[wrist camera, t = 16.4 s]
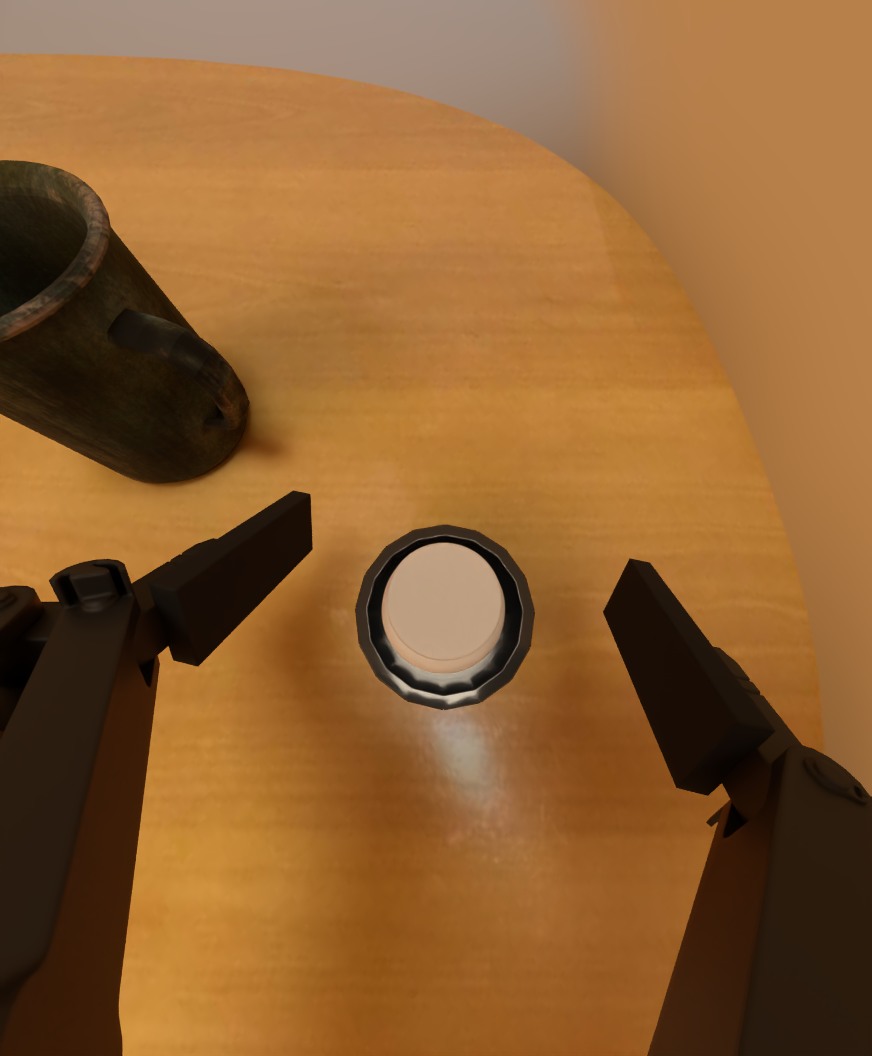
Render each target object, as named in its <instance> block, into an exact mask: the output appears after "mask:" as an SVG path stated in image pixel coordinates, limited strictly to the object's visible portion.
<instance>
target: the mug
mask: <svg viewBox="0 0 872 1056" xmlns="http://www.w3.org/2000/svg"><path fill="white" fill-rule="evenodd" d="M249 403H250V402H249V400H248V397H247V394H246V391H245V389H244V387H243V385H242V383H241V382H240V380H239V379H238V377H237V375H236V374H235V372H234V370H233V369H232V367H231V366H230V365H229V364H228V363H227V361H226V360H225V359H224V358H223V357H222V356H221V355H220V354H219V353H218V352H217V350H216V349H215V348H214V347H212V346H211V345H210V344H208V343H207V342H206V341H204V340H203V339H202V338H200V337H199V336H198V334H197V333H196V332H195V331H194V330H193V328H192V327H191V326H190V325H189V323H188V322H187V321H186V320H185V318H184V317H183V316H182V315H181V313H180V312H179V311H178V310H177V309H176V307H175V306H174V305H173V304H172V302H171V301H170V300H169V299H168V297H167V296H166V295H165V294H164V292H163V291H162V290H161V289H160V288H159V286H158V285H157V284H156V283H155V281H154V280H153V279H152V278H151V276H150V275H149V274H148V273H147V272H146V270H145V269H144V268H143V267H142V265H141V264H140V263H139V262H138V260H137V259H136V258H135V257H134V255H133V254H132V253H131V252H130V251H129V249H128V248H127V247H126V246H125V244H124V243H123V242H122V241H121V239H120V238H119V237H118V236H117V234H116V233H115V232H114V231H113V229H112V228H111V226H110V221H109V216H108V213H107V211H106V209H105V207H104V205H103V203H102V201H101V199H100V197H99V196H98V195H97V194H96V193H95V192H94V191H93V189H92V188H91V187H89V186H88V185H87V184H86V183H85V182H83V181H82V180H81V179H79V178H78V177H76V176H75V175H73V174H71V173H69V172H66V171H64V170H62V169H59V168H55V167H52V166H48V165H45V164H40V163H33V162H26V161H9V160H2V161H0V414H2V415H4V416H6V417H8V418H10V419H12V420H14V421H16V422H18V423H20V424H22V425H24V426H26V427H28V428H30V429H32V430H34V431H36V432H38V433H40V434H42V435H44V436H46V437H48V438H50V439H52V440H54V441H56V442H58V443H60V444H62V445H64V446H66V447H68V448H70V449H72V450H74V451H76V452H78V453H80V454H82V455H84V456H86V457H88V458H90V459H92V460H94V461H96V462H98V463H100V464H102V465H104V466H106V467H108V468H110V469H112V470H114V471H116V472H118V473H120V474H122V475H124V476H126V477H128V478H131V479H133V480H137V481H141V482H145V483H170V482H177V481H182V480H187V479H190V478H193V477H196V476H198V475H201V474H203V473H205V472H207V471H209V470H210V469H212V468H213V467H215V466H216V465H218V464H219V463H220V462H221V461H223V460H224V459H225V458H226V457H227V456H228V455H229V454H230V453H231V451H232V450H233V449H234V448H235V446H236V445H237V443H238V442H239V440H240V438H241V435H242V433H243V430H244V427H245V422H246V414H247V411H248V408H249Z"/></svg>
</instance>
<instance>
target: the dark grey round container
mask: <svg viewBox="0 0 872 1056" xmlns="http://www.w3.org/2000/svg"><path fill="white" fill-rule="evenodd" d="M435 543H453V544H458V545H462V546H464V547H467V548H469V549H471V550H473V551H474V552H476V553H477V554H479V555H480V556H481V557H482V558H483V559H484V560H485V561H486V562H487V563H488V564H489V565H490V567H491V568H492V570H493V571H494V573H495V575H496V577H497V579H498V581H499V583H500V586H501V588H502V591H503V595H504V601H505V617H504V624H503V628H502V632H501V634H500V637H499V639H498V641H497V643H496V644H495V646H494V647H493V649H492V650H491V651H490V653H489V654H488V655H487V656H486V657H485V658H484V659H483V660H481V661H480V662H479V663H477V664H476V665H474V666H472V667H470V668H468V669H466V670H463V671H460V672H456V673H447V674H440V673H433V672H428V671H425V670H422V669H419V668H417V667H415V666H413V665H412V664H410V663H408V662H407V661H406V660H405V659H404V658H402V657H401V656H400V655H399V654H398V653H397V651H396V650H395V649H394V648H393V646H392V644H391V643H390V641H389V639H388V637H387V635H386V632H385V629H384V626H383V621H382V601H383V595H384V591H385V588H386V585H387V583H388V581H389V579H390V577H391V575H392V574H393V572H394V571H395V569H396V568H397V567H398V565H399V564H400V563H401V561H402V560H403V559H404V558H405V557H407V556H408V555H409V554H410V553H412V552H414V551H415V550H417V549H419V548H421V547H424V546H427V545H430V544H435ZM355 613H356V623H357V632H358V642H359V644H360V648H361V650H362V651H363V653H364V655H365V657H366V659H367V661H368V663H369V664H370V666H371V668H372V670H373V672H374V674H375V676H376V677H377V678H378V679H379V680H380V681H381V682H383V683H384V684H385V685H386V686H388V687H389V688H390V689H392V690H393V691H394V692H395V693H397V694H398V695H399V696H400V697H402V698H403V699H404V700H407V701H408V702H411V703H415V704H419V705H424V706H428V707H432V708H436V709H440V710H443V709H444V710H448V709H453V708H458V707H463V706H468V705H473V704H478V703H480V702H483V701H484V700H486V699H487V698H488V697H490V696H491V695H493V694H494V693H495V692H497V691H498V690H499V689H501V688H502V687H503V686H505V685H506V684H508V683H509V682H510V681H511V680H512V679H513V677H514V676H515V674H516V672H517V670H518V669H519V667H520V665H521V663H522V662H523V660H524V658H525V656H526V655H527V653H528V651H529V649H530V647H531V639H532V631H533V623H534V615H535V612H534V606H533V602H532V598H531V595H530V591H529V587H528V583H527V579H526V577H525V575H524V574H523V572H522V571H521V569H520V568H519V567H518V565H517V564H516V563H515V561H514V560H513V558H512V557H511V556H510V554H509V553H508V552H507V550H506V549H504V548H503V547H502V546H500V545H499V544H497V543H495V542H494V541H492V540H491V539H489V538H488V537H486V536H485V535H483V534H481V533H480V532H478V531H476V530H471V529H466V528H461V527H456V526H451V525H439V526H433V527H428V528H422V529H416V530H412V531H411V532H409V533H407V534H406V535H404V536H403V537H401V538H399V539H398V540H396V541H394V542H393V543H391V544H389V545H388V546H386V548H384V550H383V551H382V552H381V553H380V555H379V556H378V557H377V559H376V560H375V561H374V563H373V564H372V565H371V567H370V568H369V569H368V571H367V572H366V575H364V578H363V582H362V586H361V589H360V593H359V596H358V600H357V603H356V609H355Z"/></svg>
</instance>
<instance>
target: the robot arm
mask: <svg viewBox="0 0 872 1056" xmlns="http://www.w3.org/2000/svg"><path fill="white" fill-rule="evenodd" d="M312 549H313V548H312V522H311V497H310V494H307V493H303V492H298V491H292V492H290V493H289V494H287V495H286V496H284V497H282V498H281V499H279V500H278V501H276V502H275V503H273V504H272V505H270V506H268V507H267V508H265V509H264V510H262V511H261V512H259V513H257V514H256V515H254V516H253V517H251V518H250V519H248V520H247V521H245V522H243V523H242V524H240V525H239V526H237V527H236V528H234V529H232V530H231V531H229V532H228V533H226V534H225V535H223V536H221V537H220V538H218V539H214V538H213V539H210V540H207V541H204V542H201V543H199V544H196V545H194V546H193V547H191V548H189V549H188V550H186V551H184V552H183V553H182V555H178V556H176V557H175V558H173V559H171V561H170V562H166V563H165V564H163V565H162V566H160V567H158V568H157V569H155V570H153V571H152V572H150V573H148V574H147V575H145V576H144V577H142V578H140V579H139V580H137V581H135V582H134V583H132V584H131V581H130V578H129V576H128V573H127V570H126V567H125V564H123V563H122V562H120V561H118V560H111V559H101V560H92V561H87V562H82V563H79V564H76V565H73V566H70V567H67V568H65V569H64V570H62V571H60V572H58V573H56V574H55V575H54V576H53V577H52V578H51V579H50V580H49V582H50V584H51V586H52V588H53V590H54V592H55V594H56V596H57V598H58V600H59V602H41V601H40V599H39V597H38V595H37V593H36V592H35V590H34V589H33V588H31V587H28V586H8V587H0V1056H122V1034H121V1027H120V1020H119V992H120V983H121V975H122V967H123V959H124V951H125V943H126V934H127V926H128V918H129V910H130V902H131V894H132V886H133V878H134V869H135V861H136V853H137V845H138V837H139V829H140V821H141V813H142V804H143V796H144V788H145V780H146V772H147V764H148V756H149V747H150V739H151V731H152V723H153V715H154V707H155V699H156V691H157V682H158V674H159V666H160V663H159V659H158V656H157V655H158V654H159V653H161V652H162V651H163V650H164V649H165V648H166V647H167V646H169V649H170V652H171V655H172V658H173V660H174V661H178V662H182V663H186V664H190V665H194V666H199V665H200V664H201V663H202V662H203V661H204V660H205V659H206V658H207V657H208V656H209V655H210V654H211V653H212V652H213V651H214V650H215V649H216V648H217V647H218V646H219V645H220V644H221V643H222V642H223V640H224V639H225V638H226V637H227V636H228V635H229V634H230V633H231V632H232V631H233V630H234V629H235V628H236V627H237V626H238V625H239V624H240V623H241V622H242V621H243V620H244V619H245V618H246V617H247V616H248V615H249V614H250V613H251V612H252V611H253V610H254V609H255V608H256V607H257V606H258V605H259V604H260V603H261V602H262V601H263V600H264V599H265V598H266V596H267V595H268V594H269V593H270V592H271V591H272V590H273V589H274V588H275V587H276V586H277V585H278V584H279V583H280V582H281V581H282V580H283V579H284V578H285V577H286V576H287V575H288V574H289V573H290V572H291V571H292V570H293V569H294V568H295V567H296V566H297V565H298V564H299V563H300V562H301V561H302V560H303V559H304V558H305V557H306V556H307V555H308V554H309V552H310V551H311V550H312ZM603 613H604V616H605V618H606V620H607V623H608V625H609V627H610V630H611V632H612V635H613V637H614V639H615V642H616V644H617V647H618V649H619V651H620V654H621V656H622V659H623V661H624V663H625V666H626V668H627V671H628V673H629V675H630V678H631V680H632V683H633V685H634V687H635V690H636V692H637V695H638V697H639V699H640V702H641V704H642V707H643V709H644V711H645V714H646V716H647V718H648V721H649V723H650V726H651V728H652V730H653V733H654V735H655V738H656V740H657V742H658V745H659V747H660V750H661V752H662V754H663V757H664V759H665V762H666V764H667V766H668V769H669V771H670V774H671V776H672V778H673V781H674V783H675V786H676V788H679V789H683V790H687V791H691V792H695V793H699V794H703V795H707V796H708V795H709V794H710V793H711V792H713V791H714V790H715V789H716V788H717V787H718V786H719V785H720V784H721V783H722V784H723V786H724V788H725V790H726V792H727V793H728V795H729V797H730V800H729V801H728V802H727V803H726V804H725V805H724V806H723V807H721V808H720V809H719V810H718V811H717V812H716V813H715V814H714V815H712V816H711V817H710V818H709V820H708V821H707V822H706V823H707V824H709V825H710V826H711V827H712V826H713V825H714V824H715V823H716V822H718V825H717V828H716V831H715V835H714V838H713V841H712V844H711V848H710V851H709V854H708V858H707V861H706V864H705V867H704V871H703V874H702V877H701V881H700V884H699V887H698V891H697V894H696V897H695V900H694V904H693V907H692V910H691V914H690V917H689V920H688V923H687V927H686V930H685V933H684V937H683V940H682V943H681V947H680V950H679V953H678V956H677V960H676V963H675V966H674V970H673V973H672V976H671V979H670V983H669V986H668V989H667V993H666V996H665V999H664V1003H663V1006H662V1009H661V1012H660V1016H659V1019H658V1022H657V1026H656V1029H655V1032H654V1035H653V1039H652V1042H651V1045H650V1049H649V1052H648V1055H647V1056H872V797H871V796H870V795H869V794H868V793H867V792H866V790H865V789H864V788H863V786H862V785H861V784H860V782H858V781H857V780H856V779H855V778H854V777H853V776H852V775H851V774H850V773H849V772H848V771H847V770H846V769H844V768H843V767H841V766H840V765H839V764H838V763H836V762H835V761H833V760H832V759H831V758H829V757H827V756H826V755H824V754H822V753H820V752H818V751H816V750H814V749H812V748H809V747H806V746H803V745H802V744H801V743H800V742H799V741H798V739H797V738H796V737H795V736H794V734H793V733H792V732H791V731H790V729H789V728H788V727H787V725H786V724H785V723H784V722H783V720H782V719H781V718H780V717H779V715H778V714H777V713H776V712H775V710H774V709H773V708H772V706H771V705H770V704H769V703H768V701H767V700H766V699H765V698H764V696H762V695H760V691H759V690H758V689H757V687H756V686H755V685H754V684H753V682H750V681H749V680H750V679H749V677H748V676H747V675H746V674H745V672H744V671H743V670H742V668H741V667H740V666H739V665H738V663H737V662H735V661H734V660H733V659H732V658H731V657H729V656H728V655H727V654H726V653H725V652H724V651H722V650H721V649H720V648H717V647H713V646H712V645H711V644H710V642H709V641H708V640H707V638H706V637H705V636H704V634H703V633H702V632H701V630H700V629H699V628H698V626H697V625H696V624H695V622H694V621H693V620H692V618H691V617H690V616H689V614H688V613H687V612H686V610H685V609H684V608H683V606H682V605H681V604H680V602H679V601H678V600H677V598H676V597H675V596H674V594H673V593H672V592H671V590H670V589H669V588H668V586H667V585H666V584H665V582H664V581H663V580H662V578H661V577H660V576H659V574H658V573H657V572H656V570H655V569H654V568H653V566H652V565H651V564H650V563H649V562H644V561H639V560H634V559H629V561H628V563H627V565H626V567H625V569H624V571H623V573H622V575H621V577H620V579H619V581H618V583H617V585H616V587H615V589H614V591H613V593H612V595H611V597H610V599H609V601H608V603H607V605H606V607H605V609H604V611H603Z"/></svg>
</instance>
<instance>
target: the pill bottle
mask: <svg viewBox="0 0 872 1056" xmlns="http://www.w3.org/2000/svg"><path fill="white" fill-rule="evenodd" d="M504 617H505V601H504V595H503V591H502V588H501V586H500V583H499V581H498V579H497V577H496V575H495V573H494V571H493V570H492V568H491V567H490V565H489V564H488V563H487V562H486V561H485V560H484V559H483V558H482V557H481V556H480V555H479V554H477V553H476V552H474V551H473V550H471V549H469V548H467V547H464V546H462V545H458V544H453V543H435V544H430V545H427V546H424V547H421V548H419V549H417V550H415V551H414V552H412V553H410V554H409V555H408V556H407V557H405V558H404V559H403V560H402V561H401V563H400V564H399V565H398V567H397V568H396V569H395V571H394V572H393V574H392V575H391V577H390V579H389V581H388V583H387V585H386V588H385V591H384V595H383V601H382V621H383V626H384V629H385V632H386V635H387V637H388V639H389V641H390V643H391V644H392V646H393V648H394V649H395V650H396V651H397V653H398V654H399V655H400V656H401V657H402V658H404V659H405V660H406V661H407V662H408V663H410V664H412V665H413V666H415V667H417V668H419V669H422V670H425V671H428V672H433V673H440V674H447V673H456V672H460V671H463V670H466V669H468V668H470V667H472V666H474V665H476V664H477V663H479V662H480V661H481V660H483V659H484V658H485V657H486V656H487V655H488V654H489V653H490V651H491V650H492V649H493V647H494V646H495V644H496V643H497V641H498V639H499V637H500V634H501V632H502V628H503V624H504Z"/></svg>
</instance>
